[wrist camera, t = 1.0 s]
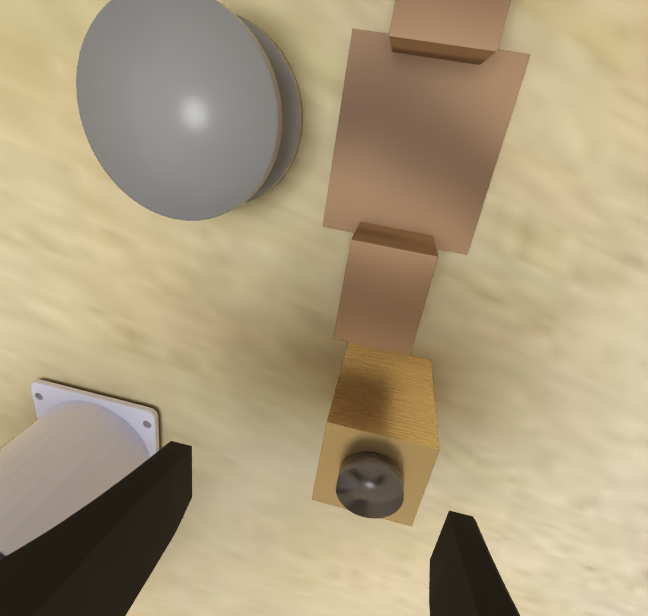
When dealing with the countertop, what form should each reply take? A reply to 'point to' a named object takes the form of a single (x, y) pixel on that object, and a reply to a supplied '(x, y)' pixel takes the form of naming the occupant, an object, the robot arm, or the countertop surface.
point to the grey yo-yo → (187, 105)
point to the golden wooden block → (379, 435)
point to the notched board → (415, 156)
